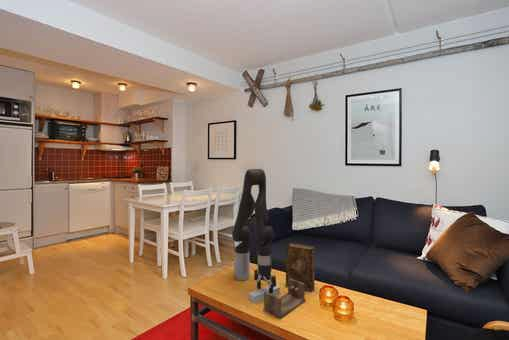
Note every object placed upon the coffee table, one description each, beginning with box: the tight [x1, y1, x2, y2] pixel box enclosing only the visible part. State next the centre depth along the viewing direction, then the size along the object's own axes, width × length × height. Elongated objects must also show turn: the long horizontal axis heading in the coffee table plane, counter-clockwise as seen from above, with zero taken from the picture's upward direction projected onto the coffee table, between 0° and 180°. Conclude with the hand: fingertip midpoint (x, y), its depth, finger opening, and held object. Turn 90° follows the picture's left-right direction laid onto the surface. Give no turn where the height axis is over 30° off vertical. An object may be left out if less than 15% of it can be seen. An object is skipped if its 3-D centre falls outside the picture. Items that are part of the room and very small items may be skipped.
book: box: [285, 242, 316, 293], centre depth 158 cm, size 16×6×25 cm, turn 62°
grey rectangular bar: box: [248, 284, 281, 304], centre depth 149 cm, size 5×18×4 cm, turn 125°
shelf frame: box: [263, 278, 306, 320], centre depth 139 cm, size 11×22×10 cm, turn 137°
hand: (264, 291), depth 149 cm, fingers open, 8 cm apart
